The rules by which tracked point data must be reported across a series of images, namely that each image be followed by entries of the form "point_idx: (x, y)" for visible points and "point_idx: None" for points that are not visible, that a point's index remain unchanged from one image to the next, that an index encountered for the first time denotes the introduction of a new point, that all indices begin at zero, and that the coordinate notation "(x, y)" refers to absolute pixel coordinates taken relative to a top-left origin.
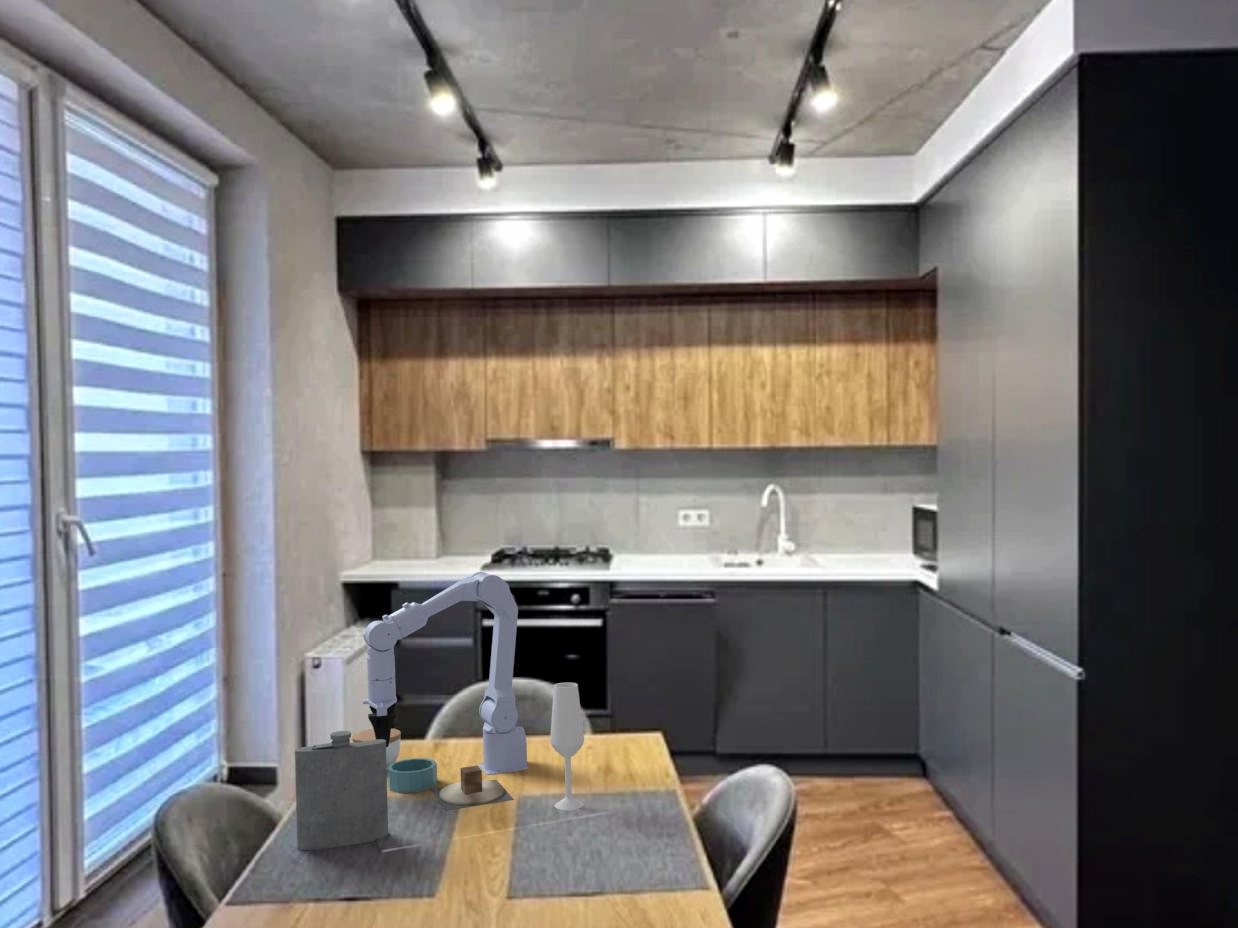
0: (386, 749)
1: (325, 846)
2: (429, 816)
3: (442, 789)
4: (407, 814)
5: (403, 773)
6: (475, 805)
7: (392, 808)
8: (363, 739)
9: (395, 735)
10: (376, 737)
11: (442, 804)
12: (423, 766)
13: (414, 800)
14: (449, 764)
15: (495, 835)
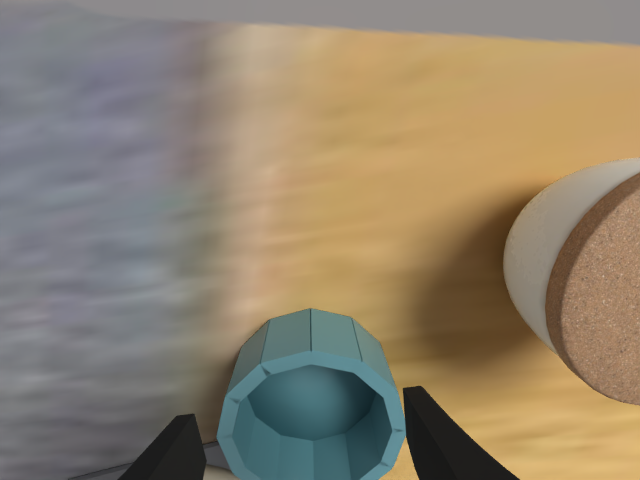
0: (533, 326)
1: None
2: (35, 447)
3: (209, 476)
4: (51, 393)
5: (221, 413)
6: None
7: (105, 347)
8: (606, 238)
9: (613, 392)
10: (126, 472)
11: (114, 474)
12: (376, 437)
13: (175, 397)
14: (505, 453)
15: None
